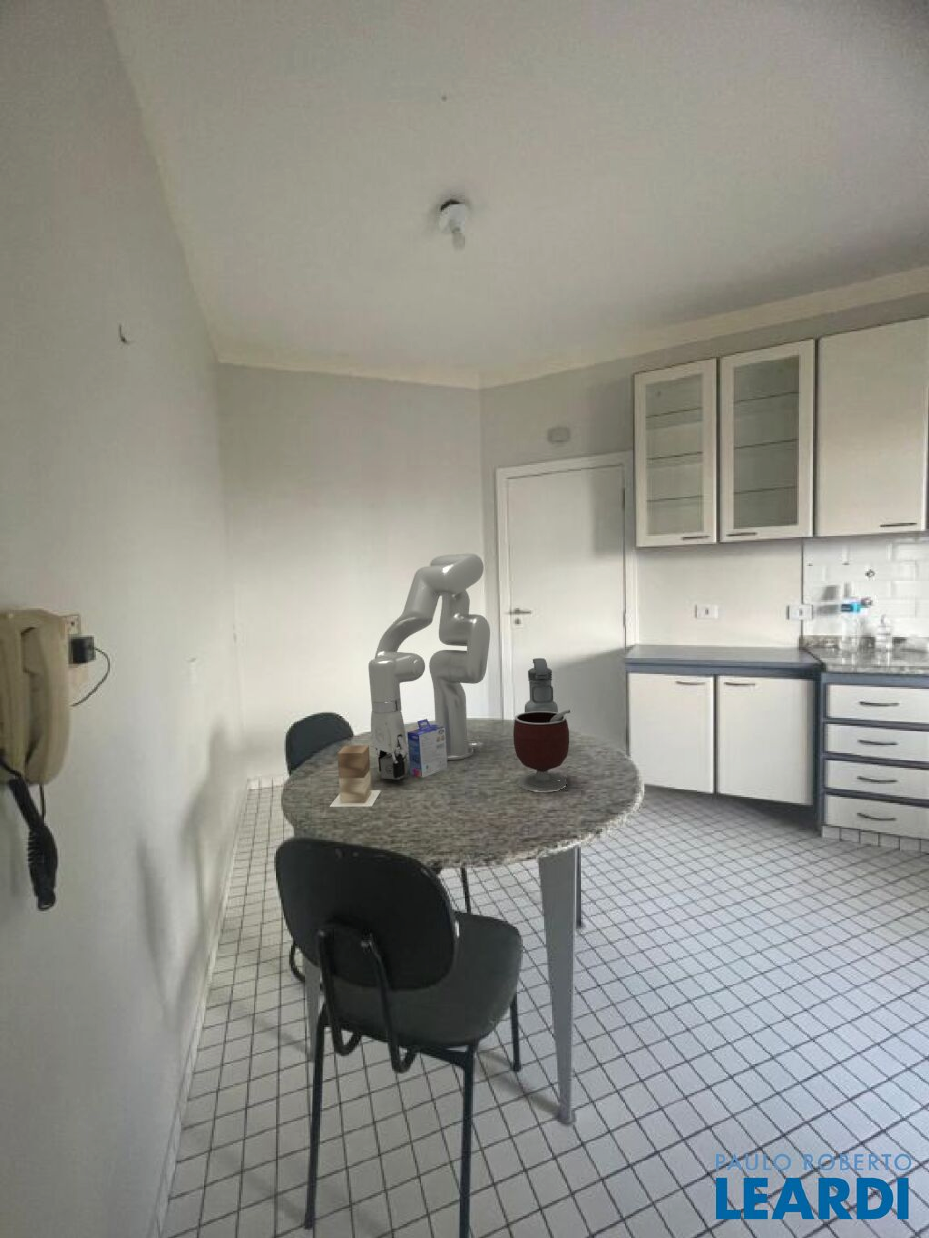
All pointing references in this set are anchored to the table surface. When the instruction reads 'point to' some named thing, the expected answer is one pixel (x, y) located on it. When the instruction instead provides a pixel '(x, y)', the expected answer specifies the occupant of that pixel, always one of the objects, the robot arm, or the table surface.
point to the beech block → (355, 789)
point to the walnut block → (353, 761)
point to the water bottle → (540, 688)
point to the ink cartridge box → (427, 749)
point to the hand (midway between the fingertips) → (392, 772)
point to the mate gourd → (541, 747)
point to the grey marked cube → (390, 766)
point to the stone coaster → (368, 803)
